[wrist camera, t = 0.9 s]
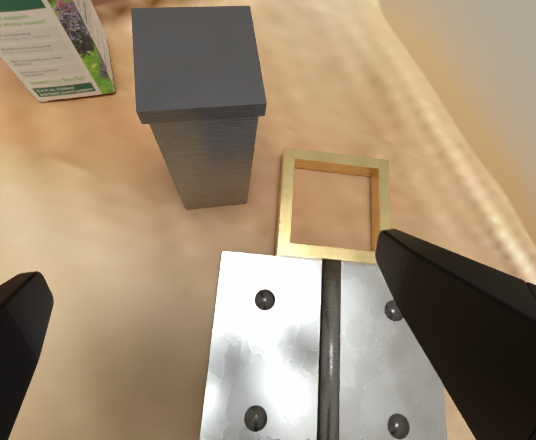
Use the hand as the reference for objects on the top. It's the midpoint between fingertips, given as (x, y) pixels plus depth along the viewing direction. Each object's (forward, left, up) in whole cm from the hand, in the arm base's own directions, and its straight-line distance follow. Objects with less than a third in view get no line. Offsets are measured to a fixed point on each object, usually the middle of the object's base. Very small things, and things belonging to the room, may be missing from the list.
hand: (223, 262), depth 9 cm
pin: (+8, +2, -14) cm, 16 cm away
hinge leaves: (0, -7, -14) cm, 16 cm away
